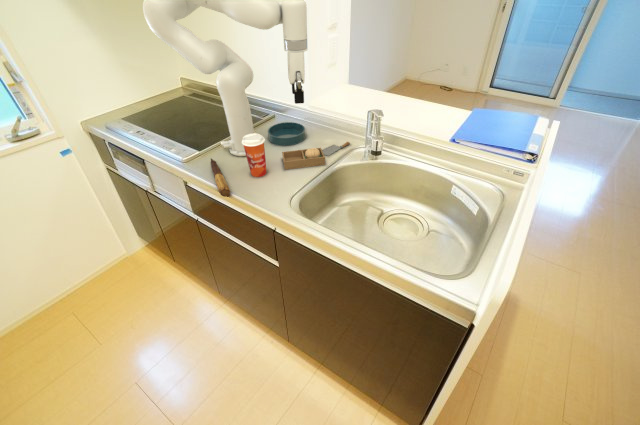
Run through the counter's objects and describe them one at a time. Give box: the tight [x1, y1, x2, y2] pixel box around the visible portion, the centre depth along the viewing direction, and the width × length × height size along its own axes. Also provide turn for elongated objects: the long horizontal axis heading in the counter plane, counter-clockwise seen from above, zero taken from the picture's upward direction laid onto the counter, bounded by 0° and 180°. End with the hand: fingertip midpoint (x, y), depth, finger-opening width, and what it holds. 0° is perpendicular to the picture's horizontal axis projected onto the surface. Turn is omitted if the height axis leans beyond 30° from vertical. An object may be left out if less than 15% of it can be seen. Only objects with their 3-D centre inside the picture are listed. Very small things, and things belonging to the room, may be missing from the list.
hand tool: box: [210, 158, 231, 198], centre depth 111 cm, size 4×26×3 cm, turn 25°
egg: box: [305, 147, 320, 159], centre depth 118 cm, size 6×4×4 cm
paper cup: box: [242, 132, 267, 178], centre depth 110 cm, size 8×8×14 cm
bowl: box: [267, 121, 307, 147], centre depth 136 cm, size 16×16×4 cm
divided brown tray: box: [281, 147, 326, 171], centre depth 119 cm, size 15×8×3 cm, turn 100°
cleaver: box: [322, 141, 350, 157], centre depth 128 cm, size 13×1×5 cm
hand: (298, 98), depth 112 cm, fingers open, 9 cm apart
